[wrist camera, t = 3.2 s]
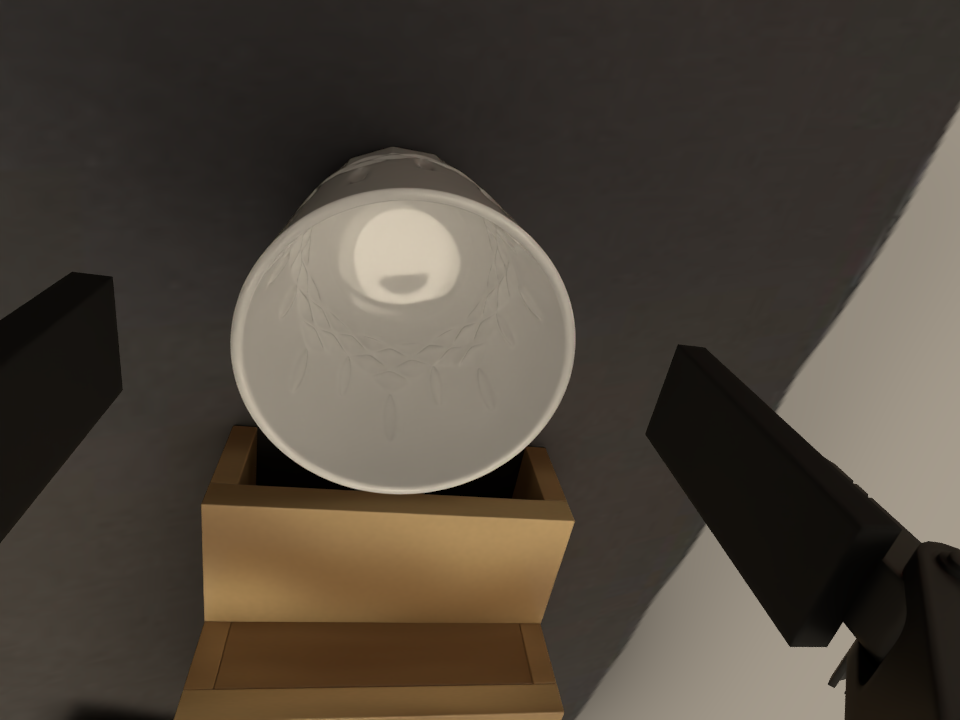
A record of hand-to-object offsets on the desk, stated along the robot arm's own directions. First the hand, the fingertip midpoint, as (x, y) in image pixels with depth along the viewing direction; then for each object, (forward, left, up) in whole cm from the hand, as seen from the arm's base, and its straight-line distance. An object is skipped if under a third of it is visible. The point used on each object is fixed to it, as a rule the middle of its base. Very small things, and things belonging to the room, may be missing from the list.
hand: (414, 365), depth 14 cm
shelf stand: (+18, +1, -10) cm, 20 cm away
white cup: (0, 0, -10) cm, 10 cm away
